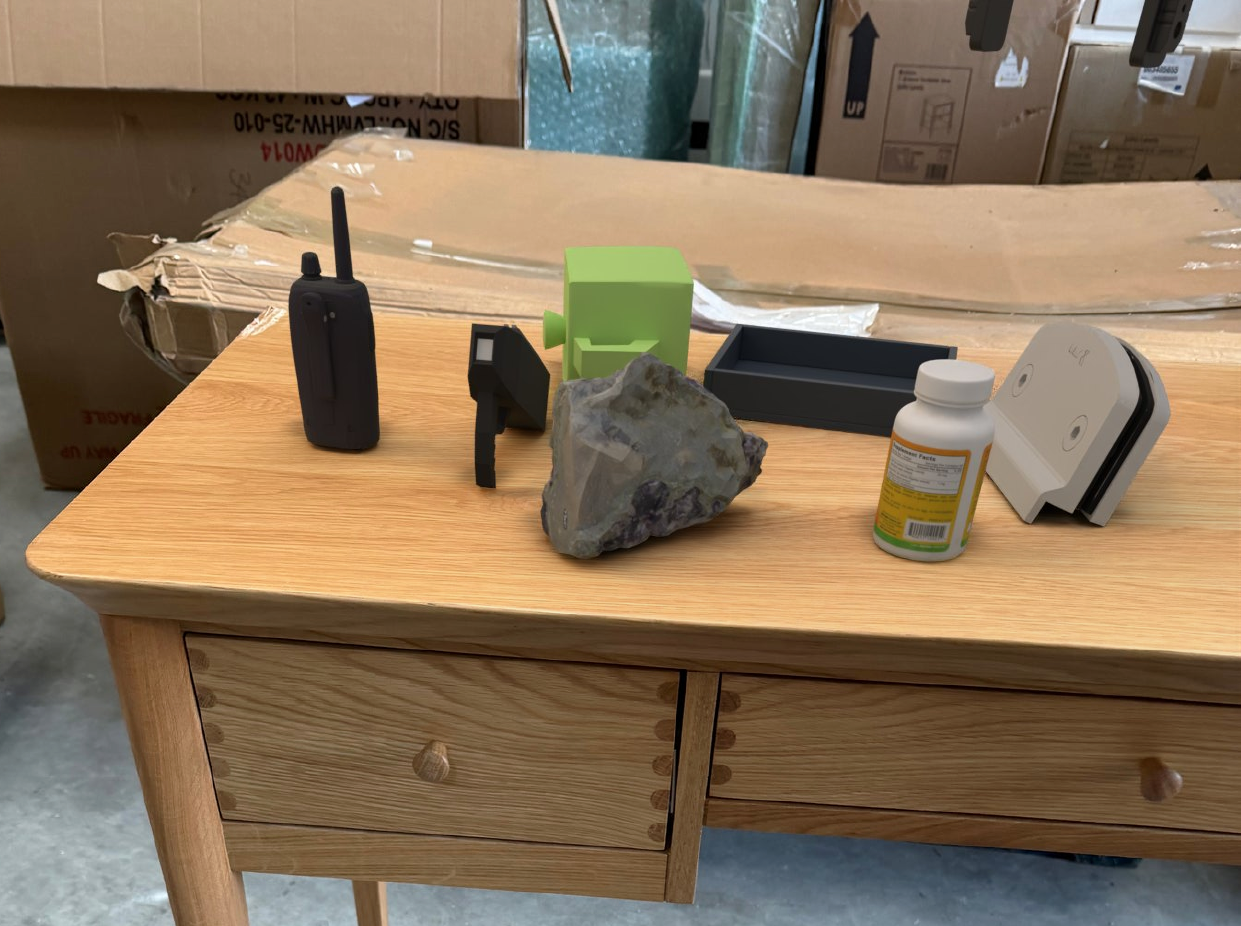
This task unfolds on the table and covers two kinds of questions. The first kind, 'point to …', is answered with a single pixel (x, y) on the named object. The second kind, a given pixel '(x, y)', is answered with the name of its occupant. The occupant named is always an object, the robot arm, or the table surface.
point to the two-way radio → (335, 347)
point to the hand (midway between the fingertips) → (1061, 58)
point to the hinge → (1075, 421)
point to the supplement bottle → (936, 463)
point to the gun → (503, 390)
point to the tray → (818, 377)
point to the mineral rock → (641, 458)
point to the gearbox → (621, 309)
